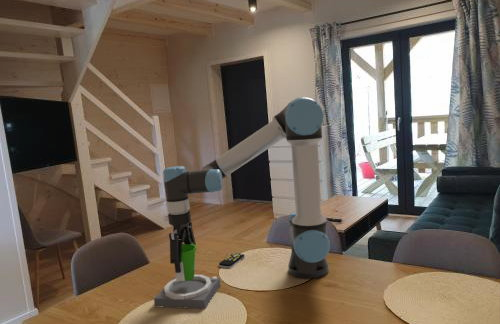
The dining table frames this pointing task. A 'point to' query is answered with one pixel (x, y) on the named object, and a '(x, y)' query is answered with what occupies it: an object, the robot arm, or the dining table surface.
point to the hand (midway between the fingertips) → (186, 274)
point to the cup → (188, 260)
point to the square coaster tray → (188, 292)
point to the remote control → (231, 260)
